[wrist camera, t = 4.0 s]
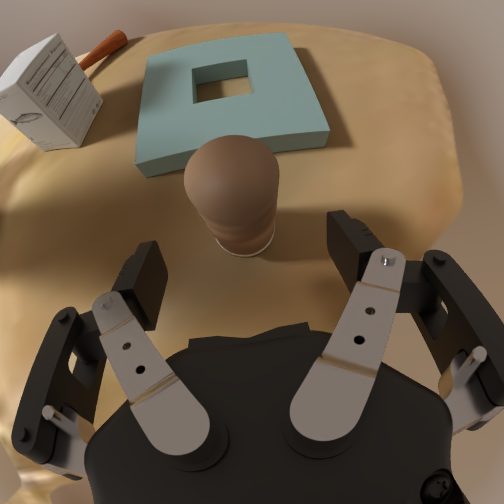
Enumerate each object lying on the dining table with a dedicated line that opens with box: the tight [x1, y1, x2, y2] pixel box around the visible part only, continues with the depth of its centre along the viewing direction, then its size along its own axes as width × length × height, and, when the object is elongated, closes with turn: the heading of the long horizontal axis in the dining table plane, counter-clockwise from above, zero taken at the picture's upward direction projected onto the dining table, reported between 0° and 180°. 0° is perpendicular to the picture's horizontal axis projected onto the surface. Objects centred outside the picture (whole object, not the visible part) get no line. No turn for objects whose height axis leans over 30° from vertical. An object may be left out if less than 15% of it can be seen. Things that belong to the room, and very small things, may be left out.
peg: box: [184, 135, 279, 258], centre depth 16 cm, size 4×4×10 cm
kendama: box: [79, 30, 127, 71], centre depth 25 cm, size 6×6×20 cm
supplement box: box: [0, 33, 103, 151], centre depth 19 cm, size 7×7×13 cm
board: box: [135, 32, 330, 178], centre depth 23 cm, size 16×16×2 cm
